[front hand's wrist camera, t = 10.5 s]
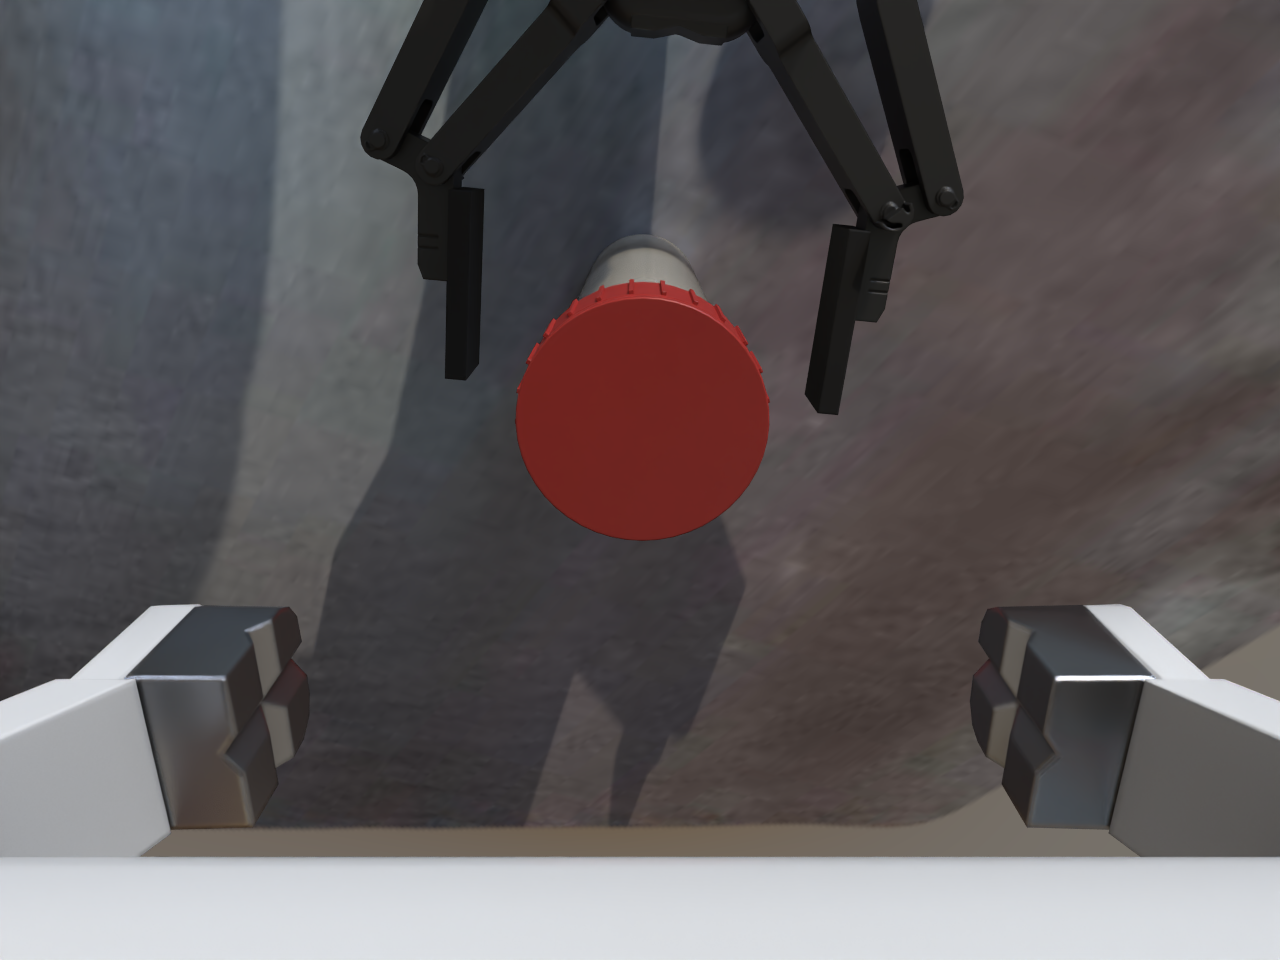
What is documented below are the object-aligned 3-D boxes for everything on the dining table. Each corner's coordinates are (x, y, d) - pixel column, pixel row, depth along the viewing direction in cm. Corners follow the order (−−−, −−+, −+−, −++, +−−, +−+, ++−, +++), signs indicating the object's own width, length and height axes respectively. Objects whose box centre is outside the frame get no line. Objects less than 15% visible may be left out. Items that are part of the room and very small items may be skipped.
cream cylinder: (652, 210, 37) (663, 266, 18) (718, 300, 38) (791, 438, 19) (565, 280, 38) (491, 400, 19) (632, 365, 39) (623, 555, 21)
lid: (665, 226, 20) (668, 236, 18) (804, 417, 21) (823, 449, 19) (477, 374, 21) (458, 401, 19) (621, 545, 23) (619, 588, 20)
